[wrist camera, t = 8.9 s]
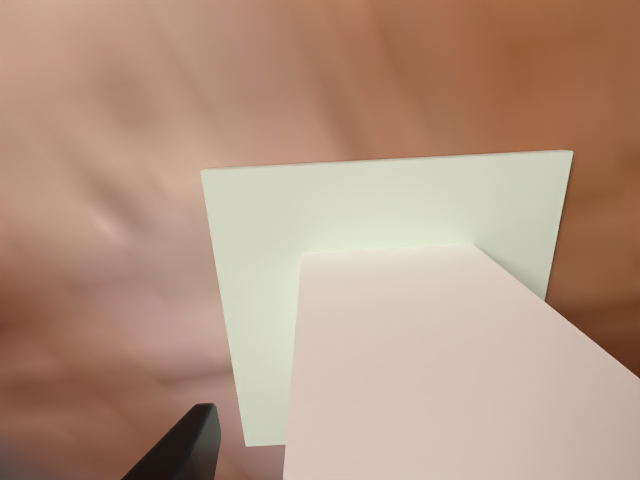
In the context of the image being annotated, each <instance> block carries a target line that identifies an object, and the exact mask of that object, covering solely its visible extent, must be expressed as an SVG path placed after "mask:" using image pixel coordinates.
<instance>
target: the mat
mask: <svg viewBox="0 0 640 480" xmlns="http://www.w3.org/2000/svg"><path fill="white" fill-rule="evenodd" d="M572 156H573V151H569V150H549V151H530V152H511V153H493V154H474V155H455V156H436V157H417V158H398V159H379V160H360V161H341V162H322V163H304V164H285V165H266V166H247V167H228V168H209V169H203V170H201V171H200V173H201V179H202V185H203V191H204V197H205V203H206V209H207V215H208V221H209V227H210V233H211V239H212V245H213V251H214V257H215V263H216V269H217V275H218V281H219V287H220V293H221V299H222V305H223V311H224V317H225V323H226V329H227V336H228V342H229V348H230V354H231V360H232V366H233V372H234V378H235V384H236V390H237V396H238V402H239V408H240V414H241V420H242V426H243V432H244V438H245V444H246V447H247V446H266V445H284V444H286V436H287V424H288V412H289V400H290V388H291V376H292V364H293V352H294V340H295V328H296V316H297V304H298V292H299V280H300V267H301V255H302V253H316V252H333V251H351V250H369V249H387V248H405V247H422V246H440V245H458V244H474V245H475V246H476V247H477V248H479V249H480V250H481V251H482V252H484V253H485V254H486V255H487V256H488V257H490V258H491V259H492V260H493V261H495V262H496V263H497V264H498V265H500V266H501V267H502V268H503V269H505V270H506V271H507V272H508V273H509V274H511V275H512V276H513V277H514V278H516V279H517V280H518V281H519V282H521V283H522V284H523V285H524V286H526V287H527V288H528V289H529V290H531V291H532V292H533V293H534V294H535V295H537V296H538V297H539V298H540V299H542V300H543V301H545V296H546V291H547V286H548V280H549V275H550V270H551V265H552V260H553V255H554V249H555V244H556V239H557V234H558V229H559V224H560V218H561V213H562V208H563V203H564V198H565V192H566V187H567V182H568V177H569V172H570V167H571V161H572Z"/></svg>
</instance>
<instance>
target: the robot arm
mask: <svg viewBox="0 0 640 480" xmlns="http://www.w3.org/2000/svg"><path fill="white" fill-rule="evenodd" d="M220 441H221V429H220V424H219V419H218V413H217V408H216V406H215V404H214V403H200V404H196V405H194V406H193V407H192V408H191V409H190V410H189V411H188V412H187V413H186V414H185V415H184V416H183V417H182V418H181V419H180V420H179V421H178V422H177V423H176V424H175V425H174V426H173V427H172V428H171V429H170V430H169V431H168V432H167V433H166V434H165V436H164V437H163V438H162V439H161V440H160V441H159V442H158V443H157V444H156V445H155V446H154V447H153V448H152V449H151V450H150V451H149V452H148V453H147V454H146V455H145V456H144V457H143V458H142V459H141V460H140V461H139V462H138V463H137V464H136V465H135V466H134V467H133V468H132V469H131V470H130V471H129V472H128V473H127V474H126V475H125V476H124V477H123V478H122V479H121V480H214V476H215V470H216V464H217V459H218V453H219V447H220Z"/></svg>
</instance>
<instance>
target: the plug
mask: <svg viewBox="0 0 640 480" xmlns="http://www.w3.org/2000/svg"><path fill="white" fill-rule="evenodd" d="M283 480H640V379H639V378H638V377H637V376H636V375H634V374H633V373H632V372H631V371H629V370H628V369H627V368H626V367H625V366H623V365H622V364H621V363H620V362H618V361H617V360H616V359H615V358H613V357H612V356H611V355H610V354H608V353H607V352H606V351H605V350H604V349H602V348H601V347H600V346H599V345H597V344H596V343H595V342H594V341H592V340H591V339H590V338H589V337H587V336H586V335H585V334H584V333H582V332H581V331H580V330H579V329H578V328H576V327H575V326H574V325H573V324H571V323H570V322H569V321H568V320H566V319H565V318H564V317H563V316H561V315H560V314H559V313H558V312H557V311H555V310H554V309H553V308H552V307H550V306H549V305H548V304H547V303H545V302H544V301H543V300H542V299H540V298H539V297H538V296H537V295H535V294H534V293H533V292H532V291H531V290H529V289H528V288H527V287H526V286H524V285H523V284H522V283H521V282H519V281H518V280H517V279H516V278H514V277H513V276H512V275H511V274H509V273H508V272H507V271H506V270H505V269H503V268H502V267H501V266H500V265H498V264H497V263H496V262H495V261H493V260H492V259H491V258H490V257H488V256H487V255H486V254H485V253H484V252H482V251H481V250H480V249H479V248H477V247H476V246H475V245H474V244H458V245H440V246H422V247H405V248H387V249H369V250H351V251H333V252H316V253H302V255H301V267H300V280H299V292H298V304H297V316H296V328H295V340H294V352H293V364H292V376H291V388H290V400H289V412H288V424H287V436H286V448H285V460H284V472H283Z"/></svg>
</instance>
